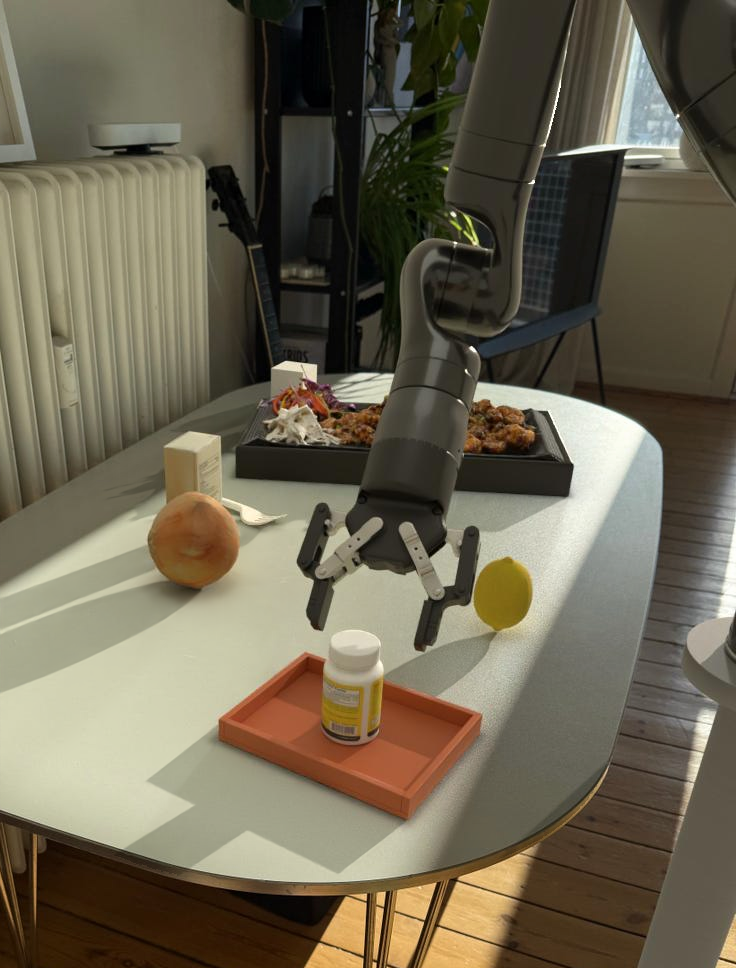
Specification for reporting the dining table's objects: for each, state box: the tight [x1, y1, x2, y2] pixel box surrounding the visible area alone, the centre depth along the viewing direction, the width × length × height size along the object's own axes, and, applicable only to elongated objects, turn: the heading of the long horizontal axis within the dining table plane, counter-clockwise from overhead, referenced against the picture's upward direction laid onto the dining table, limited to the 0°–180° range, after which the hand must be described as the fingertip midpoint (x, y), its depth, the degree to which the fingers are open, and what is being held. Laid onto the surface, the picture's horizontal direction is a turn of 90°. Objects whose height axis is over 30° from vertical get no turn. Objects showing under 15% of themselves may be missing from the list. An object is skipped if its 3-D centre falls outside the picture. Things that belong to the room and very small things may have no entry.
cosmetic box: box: [163, 430, 223, 506], centre depth 108 cm, size 6×4×12 cm
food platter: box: [234, 364, 575, 497], centre depth 135 cm, size 45×25×10 cm, turn 82°
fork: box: [222, 496, 288, 526], centre depth 119 cm, size 3×20×2 cm, turn 44°
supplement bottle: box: [321, 629, 385, 745], centre depth 74 cm, size 5×5×8 cm
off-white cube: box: [270, 360, 318, 398], centre depth 161 cm, size 6×6×6 cm
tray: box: [217, 651, 483, 821], centre depth 76 cm, size 17×13×2 cm
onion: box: [146, 491, 241, 589], centre depth 99 cm, size 10×10×10 cm
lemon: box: [472, 555, 534, 632], centre depth 90 cm, size 6×6×8 cm
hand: (366, 638), depth 74 cm, fingers open, 8 cm apart
